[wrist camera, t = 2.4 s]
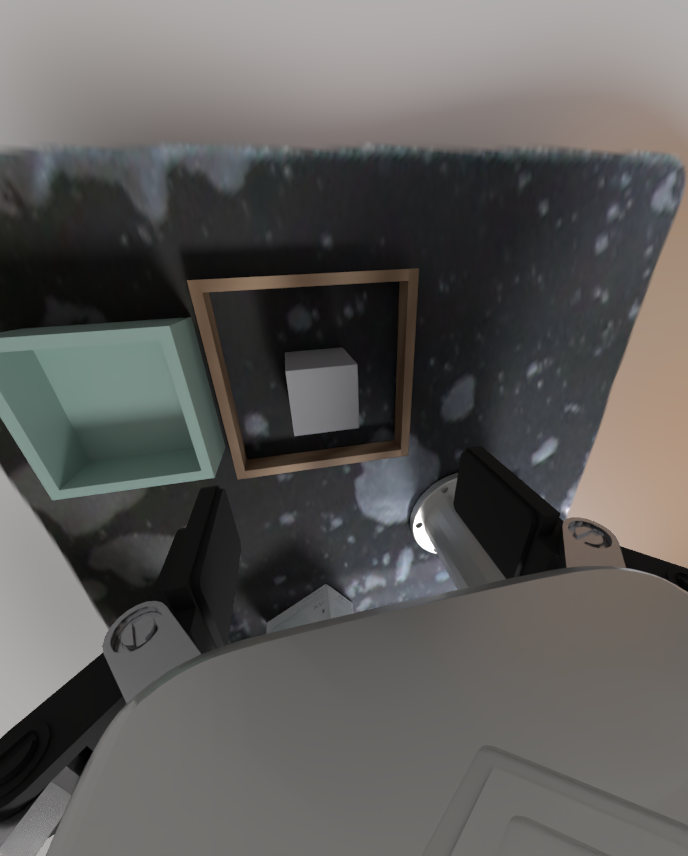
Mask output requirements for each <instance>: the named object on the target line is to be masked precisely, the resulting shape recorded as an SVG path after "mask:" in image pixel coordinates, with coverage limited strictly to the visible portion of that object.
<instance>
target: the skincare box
mask: <svg viewBox="0 0 688 856" xmlns="http://www.w3.org/2000/svg"><path fill="white" fill-rule="evenodd" d="M353 613H354V611H353V605H352V602H350V601H349V600H348V599H346V598H345V597H344V596H342V595H341V594H340V593H338V592H337V591H335V590H334V589H333V588H331V587H330V586H329V585H327V584H325V585H323V586H322V587H320V588H319V589H317V590H316V591H314V592H313V593H311V594H310V595H308V596H307V597H305V598H304V599H302V600H301V601H299V602H298V603H296V604H295V605H293V606H291V607H290V608H288V609H287V610H285V611H284V612H282V613H281V614H279V615H278V616H276V617H275V618H273V619H272V620H270V621H269V622H268V623H267V633H266V634H268V633H272V632H276V631H281V630H285V629H289V628H293V627H297V626H301V625H305V624H310V623H314V622H318V621H323V620H327V619H331V618H336V617H340V616H344V615H349V614H353Z"/></svg>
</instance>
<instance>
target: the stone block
mask: <svg viewBox="0 0 688 856" xmlns="http://www.w3.org/2000/svg"><path fill="white" fill-rule="evenodd" d="M285 373H286V380H287V387H288V394H289V401H290V408H291V415H292V422H293V430H294V436H300V435H308V434H315V433H323V432H331V431H339V430H347V429H355V428H359V402H358V367H357V363H356V362H355V361H354V360H353V359H352V358H351V356H350V355H349V354H348V353H347V352H346V351H345V350H344V348H343V347H340V348H329V349H318V350H306V351H295V352H285Z"/></svg>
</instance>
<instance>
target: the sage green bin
mask: <svg viewBox="0 0 688 856" xmlns="http://www.w3.org/2000/svg"><path fill="white" fill-rule="evenodd" d="M0 417H1V419H2V420H3V422H4V424H5V425H6V427H7V428H8V430H9V432H10V433H11V435H12V436H13V438H14V440H15V441H16V443H17V445H18V446H19V448H20V449H21V451H22V453H23V454H24V456H25V457H26V459H27V461H28V462H29V464H30V465H31V467H32V469H33V470H34V472H35V473H36V475H37V477H38V478H39V480H40V481H41V483H42V485H43V486H44V488H45V489H46V491H47V493H48V494H49V496H50V497H51V499H52V500H59V499H66V498H73V497H80V496H87V495H95V494H102V493H109V492H116V491H123V490H130V489H138V488H145V487H152V486H159V485H166V484H173V483H181V482H188V481H195V480H202V479H209V478H215V475H216V472H217V469H218V467H219V464H220V461H221V458H222V455H223V452H224V449H225V444H224V440H223V436H222V432H221V428H220V425H219V421H218V417H217V413H216V409H215V406H214V402H213V398H212V394H211V390H210V387H209V383H208V379H207V375H206V371H205V368H204V364H203V360H202V356H201V352H200V349H199V345H198V341H197V337H196V333H195V330H194V326H193V322H192V318H191V317H185V318H170V319H155V320H141V321H126V322H111V323H97V324H82V325H67V326H52V327H38V328H23V329H16V330H11V331H6V332H0Z"/></svg>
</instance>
